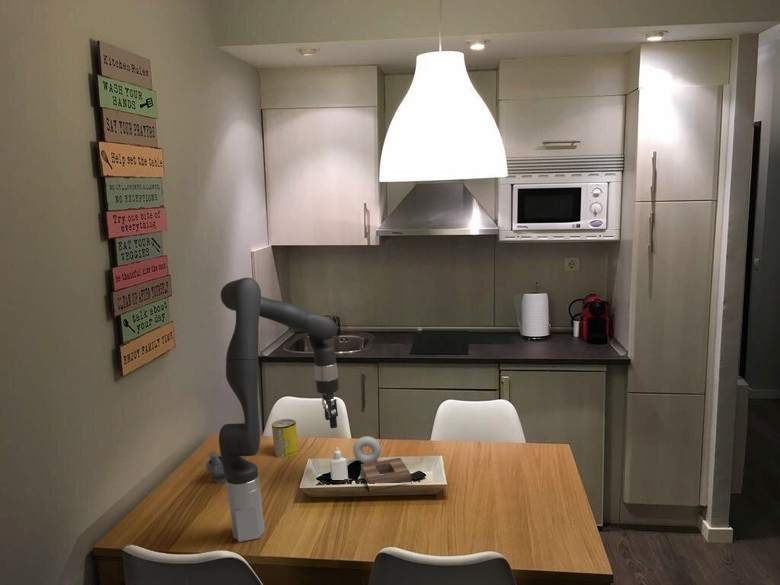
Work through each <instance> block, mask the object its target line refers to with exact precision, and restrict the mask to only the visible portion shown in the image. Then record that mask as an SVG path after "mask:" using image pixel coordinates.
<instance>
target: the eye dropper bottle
mask: <svg viewBox="0 0 780 585" xmlns="http://www.w3.org/2000/svg"><path fill="white" fill-rule="evenodd" d="M329 468H330V469H329V470H330V471H329V472H330V479H332V480H344V479H348V480H349V474H348V473H349V472H348V462H347V459H346V458H345V457H342V451H341V450H340V449H339V447H338V446H337V447H335V450H334V451H333V458H332V459H331V460H329Z"/></svg>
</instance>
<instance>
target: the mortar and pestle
mask: <svg viewBox="0 0 780 585" xmlns="http://www.w3.org/2000/svg"><path fill="white" fill-rule="evenodd" d="M208 457H209V459H207V461H206V462H205V466H206V469H207V471H208V473H209V474H210V476H211V477H212V478H213V481H214V482H213V483H215V484H216V483H217V484H222V482H223V483H226V476H225V474H224V470H223V464H222V458H221V455H218V453H217V451H214V450H213V451H211V452H210V453H209V455H208Z"/></svg>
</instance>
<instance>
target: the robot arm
mask: <svg viewBox="0 0 780 585" xmlns="http://www.w3.org/2000/svg"><path fill="white" fill-rule="evenodd" d="M220 299H221V303H222V304H223V305H224V307H225V308H227V309H229V310H231V311H235V325H234V330H233V334H232V336H231V338H230V341H229V344H228V348H227V351H226V358H225V379H226V381H227V383H228V385H229V386H230V389H231V390H232V392H233V393H234V394H235V396H236V398H237V399H238V401H239V403H240V406H241V408H242V412H243V417H244V423H243V422H242V423H226V424H224V425H222V426H221V428H220V429H219V434H218V444H219V445H218V446H219V452H220V456H221V458H222V464H223V470H224V474H225V476H226V482H225V483H226V492H227V499H228V500H227V501H228V508H229V515H230V523H231V524H230V525H231V531H232V532H231V533H232V537H233V539H235V540H236V541H237V542H238V543H241V542H246V541H251V540H255V539H261V536H262V535H264V533H265V531H266V529H265V520H264V514H263V513H264V511H263V503H262V502H263V501H262V496H261V494H262V493H261V485H260V484H261V483H260V476H259V469H258V466H257V464H255V463H254V462H252V461H249V460H246V459H245V458H243V457H254V456H256V455H257V454H258V452H259V449H260V445H261V444H260V443H261V430H260V429H261V428H260V416H259V415H260V414H259V399H258V397H259V396H258V395H259V392H258V391H259V390H258V389H259V323H260V321H259V320H260V318H264V319H267V320H270V321H272V322H273V321H274V322H276V323H279V324H281V325H283V326H286V327H289V328H292V329H294V330H296V331H300V332H305V333H307V337H308V340H309V343H310V346H311V349H312V352H313V360H314V379H315V387H316V388H315V390H316V392H317V393H318V394H321V405H322V406H323V407H322V408H323V410H324V419H325V421H329V427H330V429H337V427H338V423H337V422H338V421H337V418H338V417H339V413H338V406H337V405H338V404H337V398H336V396H335V395H334V393H335V392H338V391H339V390H340V383H339V369H338V364H337V359H336V350H335V347H334V346H333V345H332V344H330V342H329V340H331V339H334V337H335V336H336V335H337V333H338V327H337V326H338V325H337V324H336V322H335V321H334V320H332V319H331V318H330V317H326V316H323V315H320V314H318V313H317V314H316V313H313V312H311V311H309V310H307V309H305V308H303V307H300V306H298V305H295V304H293V303H289V302H285V301H281V300H276V299H272V298H268V297H264V296H262V291H261V287H260V285H259V283H258V282H257V281H256V280H255V279H254V278H252V277H242V278H239V279H236V280H232V281H229V282H228V283H226V284H225V285H224V286H223V287H222V289H221V291H220ZM332 412H333V413H332Z"/></svg>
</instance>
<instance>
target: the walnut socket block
mask: <svg viewBox="0 0 780 585" xmlns="http://www.w3.org/2000/svg"><path fill="white" fill-rule="evenodd" d="M360 471H361V472H360V473H361V476H362V477H363V480H364V479H365V480H366V481H367V482H368V483H369V484H375V483H401V482H411V483H412V474H411V472H410V470H409V469H408V467H407V466H406V464H405V462H404V461H403V460H402V458H401V457H396V458H390V459H385V460H378V461H375V462H372V463H366V464H365V463H361V464H360ZM365 480H364V481H365Z"/></svg>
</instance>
